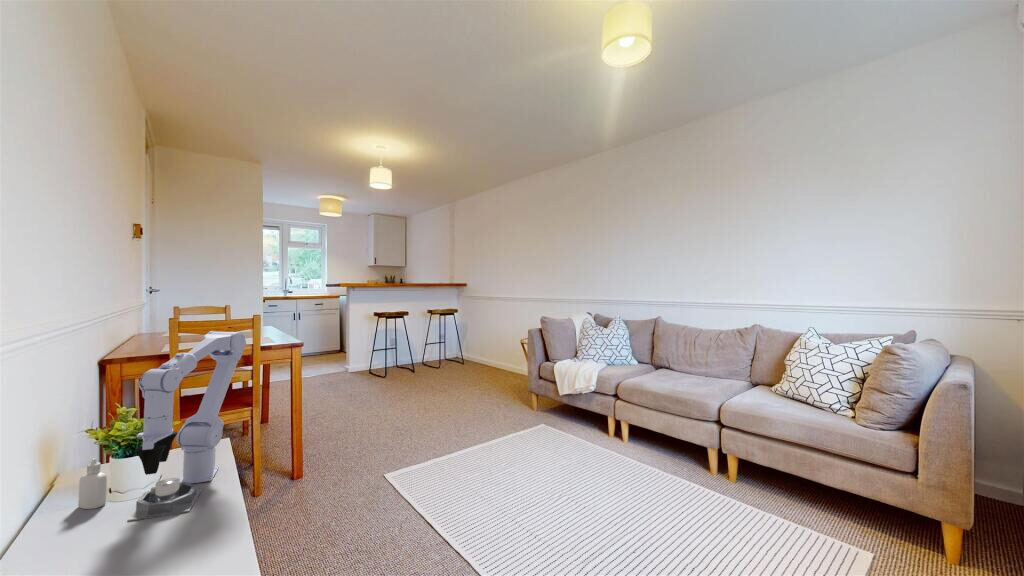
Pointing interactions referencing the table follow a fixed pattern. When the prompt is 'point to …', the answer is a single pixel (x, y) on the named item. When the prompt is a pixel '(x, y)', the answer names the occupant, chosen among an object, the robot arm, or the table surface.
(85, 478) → the eye dropper bottle
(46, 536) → the table surface
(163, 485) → the silver short rounded cylinder
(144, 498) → the collar
